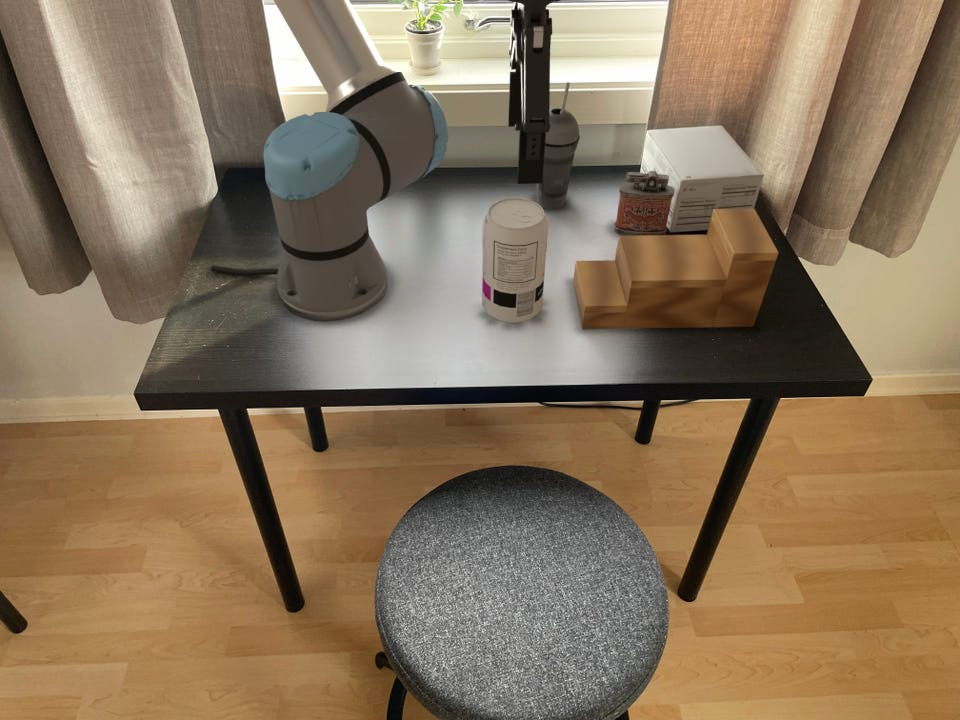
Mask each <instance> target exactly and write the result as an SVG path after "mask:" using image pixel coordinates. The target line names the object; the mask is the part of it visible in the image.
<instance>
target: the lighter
mask: <svg viewBox="0 0 960 720" xmlns="http://www.w3.org/2000/svg"><path fill="white" fill-rule="evenodd" d="M668 181H669V176H668V175H663V174H656V172H655V171H649V172H648V173H647V174H643V173H640V171H629V172H627V173H626V179H625V182H624V183H622V184H620V186H619V199H618V207H617V213H616V219H615V222H614V225H613V231H614V233H615V234H617V235H619V236H648V235H667V232H668V231H667V230H668V228H667V226H666V225H667V220H668V215H669V210H670V206H671V201H672V197H673V196H674V192H675V189H674V188H673V187H671V186H669V185H667V184H668Z"/></svg>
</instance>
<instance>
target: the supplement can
mask: <svg viewBox="0 0 960 720" xmlns="http://www.w3.org/2000/svg"><path fill="white" fill-rule="evenodd" d="M543 208H544V207H542V206H540V205H539V204H538V202H536V201H533V200H531V199H528V198H523V197H507V198H502V199H499V200H497V201H495V202H493V203H492V204H491V205H490V206H489V208H488V211H487V212H486V214H485V216H484V217H483V220H482V282H481V284H482V286H481V287H482V288H481V291H482V292H481V293H482V294H481V296H482V298H481V304H482V308H483V309H484V311H485V312H486V313H487V314H488V315H489V316H490V317H492V318H493V319H495V320H498V321H500V322H503V323H507V324H519V323H523V322H526V321H529V320H530V319H532V318H534V317H535V316H537V315H538V314H539V313H540V311H541V310H542V308H543V299H544V298H543V297H544V285H545V272H546V260H547V250H548V249H547V246H548V237H549V236H548V235H549V220H548V218H547V216H546V214H545V210H544V209H543Z"/></svg>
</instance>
